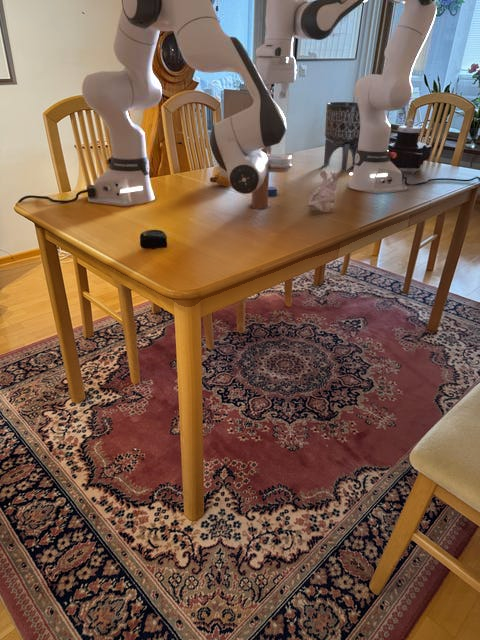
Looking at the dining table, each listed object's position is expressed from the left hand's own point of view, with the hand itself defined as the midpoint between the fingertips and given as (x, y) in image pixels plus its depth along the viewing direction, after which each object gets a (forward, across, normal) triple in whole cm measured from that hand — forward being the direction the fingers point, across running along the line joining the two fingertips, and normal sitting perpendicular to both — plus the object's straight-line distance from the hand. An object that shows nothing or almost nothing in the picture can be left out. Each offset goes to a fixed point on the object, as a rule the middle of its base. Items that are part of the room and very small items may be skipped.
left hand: (257, 156), depth 132 cm
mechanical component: (+87, -60, +18) cm, 108 cm away
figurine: (+12, -20, +18) cm, 30 cm away
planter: (+84, -31, +18) cm, 92 cm away
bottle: (+12, 0, +18) cm, 22 cm away
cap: (+29, -2, +16) cm, 33 cm away
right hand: (+29, -2, -13) cm, 32 cm away
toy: (+40, +15, +18) cm, 46 cm away
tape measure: (-31, +23, +18) cm, 43 cm away
